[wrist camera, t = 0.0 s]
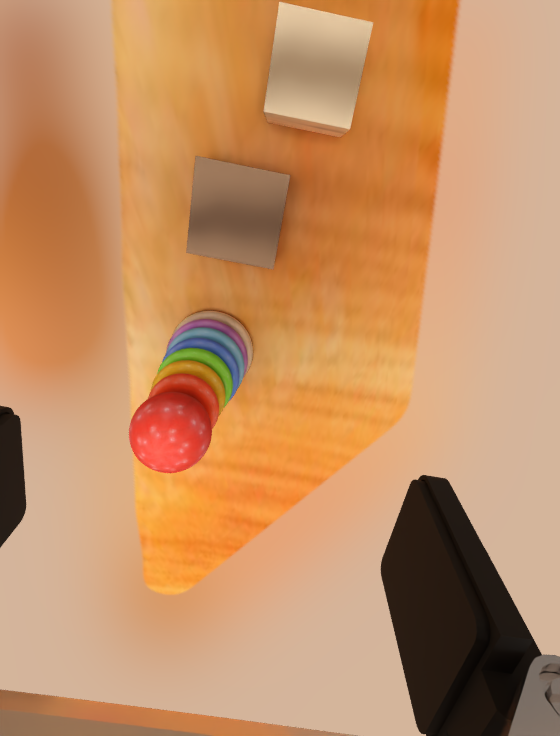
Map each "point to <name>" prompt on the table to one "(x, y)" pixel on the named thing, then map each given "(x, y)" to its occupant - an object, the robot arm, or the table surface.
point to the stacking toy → (190, 391)
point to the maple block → (315, 69)
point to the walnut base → (236, 212)
